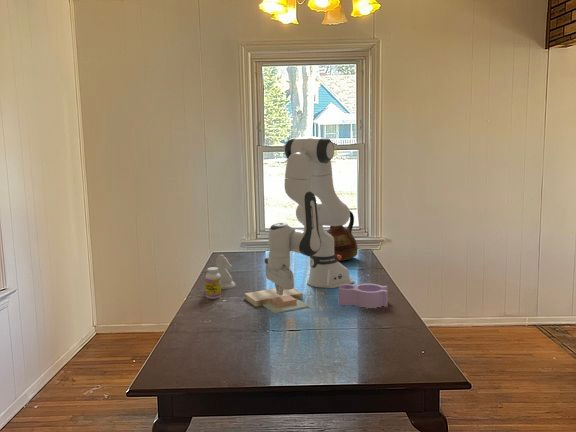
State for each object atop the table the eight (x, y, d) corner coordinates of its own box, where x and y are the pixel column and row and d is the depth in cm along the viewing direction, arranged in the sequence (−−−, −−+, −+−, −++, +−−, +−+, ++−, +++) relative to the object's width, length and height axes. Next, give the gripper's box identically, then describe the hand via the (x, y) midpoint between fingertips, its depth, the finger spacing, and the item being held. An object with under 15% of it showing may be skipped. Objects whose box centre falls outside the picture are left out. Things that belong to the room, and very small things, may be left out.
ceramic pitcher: (316, 257, 292) (316, 205, 287) (348, 254, 298) (349, 203, 293) (329, 265, 274) (329, 210, 269) (363, 262, 280) (364, 208, 275)
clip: (337, 307, 207) (337, 291, 206) (340, 297, 220) (340, 282, 218) (387, 309, 204) (387, 293, 203) (387, 300, 216) (387, 284, 215)
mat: (296, 299, 217) (296, 298, 217) (309, 307, 207) (309, 305, 207) (262, 305, 210) (262, 304, 210) (274, 313, 200) (274, 312, 200)
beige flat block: (289, 291, 229) (289, 285, 229) (302, 298, 218) (302, 293, 218) (244, 298, 219) (244, 293, 219) (255, 306, 209) (255, 301, 208)
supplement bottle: (203, 298, 220) (202, 269, 218) (209, 294, 226) (208, 266, 224) (218, 299, 218) (217, 270, 216) (223, 295, 224) (222, 266, 222)
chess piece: (230, 289, 232) (229, 258, 229) (210, 288, 235) (209, 256, 233) (238, 283, 241) (237, 253, 239) (219, 282, 244) (218, 251, 242)
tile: (290, 300, 215) (290, 295, 214) (296, 304, 209) (296, 299, 209) (270, 303, 211) (270, 298, 210) (276, 307, 205) (276, 302, 205)
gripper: (297, 267, 203) (297, 300, 205) (275, 256, 221) (276, 287, 223) (283, 269, 200) (283, 302, 202) (262, 258, 218) (263, 289, 220)
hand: (279, 294), depth 213 cm, fingers closed
